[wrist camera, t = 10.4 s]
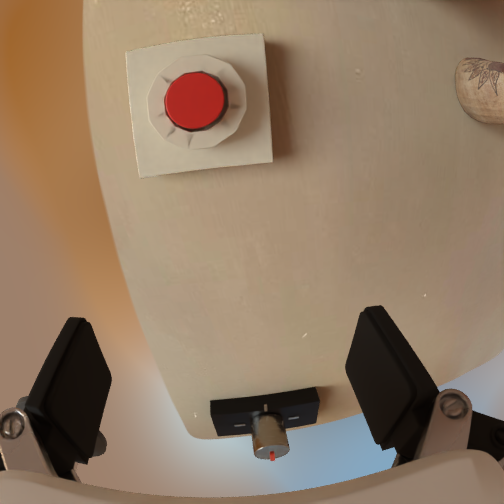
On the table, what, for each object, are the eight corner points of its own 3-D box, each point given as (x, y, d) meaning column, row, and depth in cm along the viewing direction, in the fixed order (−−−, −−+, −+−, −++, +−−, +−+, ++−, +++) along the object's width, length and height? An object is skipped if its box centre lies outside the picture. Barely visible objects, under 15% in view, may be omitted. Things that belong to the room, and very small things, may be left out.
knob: (248, 415, 34) (253, 450, 29) (283, 410, 34) (290, 444, 30) (251, 431, 36) (255, 463, 31) (283, 426, 36) (289, 458, 32)
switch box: (146, 173, 23) (133, 184, 19) (133, 56, 18) (117, 47, 15) (268, 158, 23) (278, 167, 20) (260, 40, 19) (267, 26, 15)
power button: (172, 131, 18) (168, 132, 17) (167, 80, 17) (162, 77, 15) (226, 124, 19) (226, 125, 17) (221, 73, 17) (222, 69, 15)
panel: (218, 426, 39) (219, 441, 37) (208, 394, 35) (208, 411, 33) (311, 414, 40) (315, 428, 37) (316, 380, 36) (321, 396, 34)
